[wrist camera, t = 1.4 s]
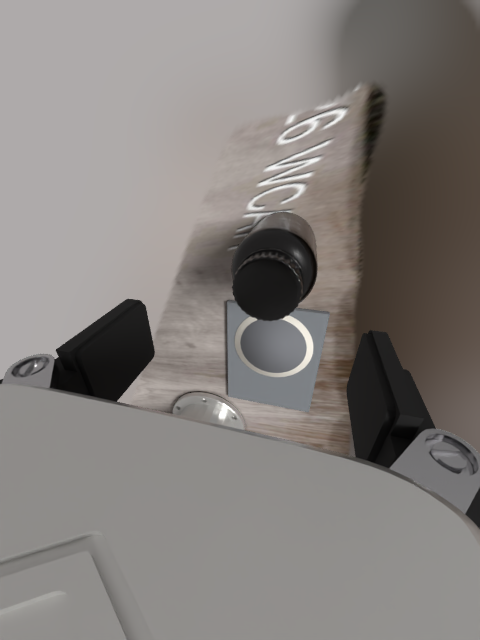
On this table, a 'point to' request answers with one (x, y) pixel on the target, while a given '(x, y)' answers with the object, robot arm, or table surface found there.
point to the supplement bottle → (274, 267)
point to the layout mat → (275, 356)
